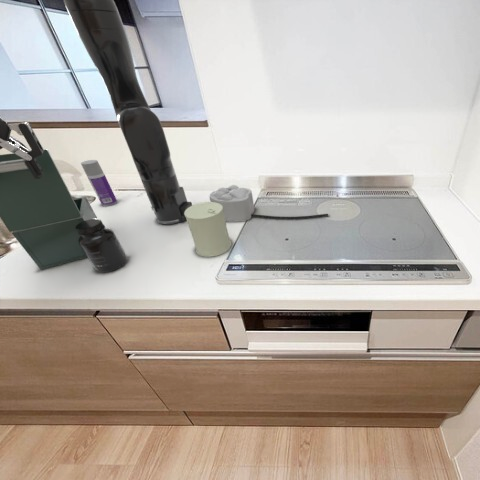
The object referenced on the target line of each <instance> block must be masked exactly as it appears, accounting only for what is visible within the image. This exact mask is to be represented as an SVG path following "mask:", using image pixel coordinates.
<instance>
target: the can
mask: <svg viewBox="0 0 480 480" xmlns="http://www.w3.org/2000/svg"><path fill="white" fill-rule="evenodd" d="M184 215H185V217H186V219H185V221H186V223H187V225H188V228H189V231H190V233H191V238H192V241H193V244H194V246H195V252H196V253H197V254H198V255H199V256H200V257H206V258H209V257H210V258H212V257H217V256H220V255H222V254H225V253H226V252H228V251H229V249H230V248H231V246H232V241H231V239H230V236H229V231H228V227H227V221H225V217H224V213H223V207H222V205H221V204H219V203H216V202H210V201H203V202H199V203H195V204H192V206H190V207H189V208H187V209H186V210H185V212H184Z"/></svg>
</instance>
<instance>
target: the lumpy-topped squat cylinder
mask: <svg viewBox="0 0 480 480" xmlns="http://www.w3.org/2000/svg"><path fill="white" fill-rule="evenodd" d="M252 191H253V190H252V189H250V188H246V187H239V186H238V185H236V184H231V185H229V186H228V187H219V188H218V189H216V190H215V191H212V192H210V193H209V195H208V197H209V202H216V203H219V204H221V205H222V207H223V213H224V217H225V222H233V223H235V222H237V223H238V222H246V221H249V220H251V218H252V217H253V216H251V214H254V212H255V211H256V210H255V204H254V198H253V192H252Z"/></svg>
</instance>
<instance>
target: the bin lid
mask: <svg viewBox="0 0 480 480" xmlns="http://www.w3.org/2000/svg"><path fill="white" fill-rule="evenodd" d="M51 155H52V154H51V153H50V152H49V150H48V149H44V152H43V153H42V155H41V156H38V157H36V160H37V162H38V164H39V165H40V167H41V168H42V170H43V174H42V175H41V176H42V177H41V178H40V179H35V178H34V176H33V175H32V173H31V172H30V170H29V168H28V167H27V165H26V164H25V162H24V161H25V159H23V158H22V157H20V156H18V155H17V154H15V153H12V152H11V153H5V154H0V219H1V221H2V222H3V224H4V226H5V227H6V229H7V231H8V232H9V233H12V232H13V231H17V230H21V229H26V228H30V227H35V226H40V225H44V224H49V223H53V222H58V221H63V220H67V219H72V218H76V217H81V216H82V215H81V213H80V211H79V209H78V207H77V205H76V204H75V202H74V200H73V199H74V197H73V196H72V194H71V191H70V190H69V187H68V186H67V184H66V183H65V180H64V178H63V176H62V175H61V173H60V171H59V169H58V167H57V165H56V162H55V161H54V159H53V157H52V156H51Z"/></svg>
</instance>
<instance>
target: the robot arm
mask: <svg viewBox="0 0 480 480" xmlns="http://www.w3.org/2000/svg"><path fill="white" fill-rule="evenodd" d="M63 3H64V5H65V8H66V11H67V12H68V14H69V17H70V19H71V21H72V24H73V26H74V28H75V30H76V32H77V35H78V37H79V39H80V40H81V43H82V44H83V46H84V49H85V50H86V52H87V54H88V56H89V57H90V59H91V62H92V63H93V65H94V67H95V68H96V70H97V72H98V74H99V76H100V77H101V79H102V81H103V82H104V85H105V88H106V90H107V92H108V95H109V98H110V100H111V101H110V102H111V103H112V107H113V110H114V113H115V117H116V121H117V123H118V126H119V128H120V131H121V132H122V135H123V138H124V140H125V142H126V145H127V147H128V150H129V152H130V156H131V157H132V160H133V163H134V166H135V168H136V170H137V173H138V175H139V178H140V181H141V184H142V186H143V188H144V190H145V193H146V196H147V199H148V201H149V203H150V209H151V211H152V212H153V213H154V216H155V219H156V221H157V223H158V224H161V225H173V224H178V223H184V222H185V221H186V217H185V215H184V212H185V210H186V209H187V208H189V207H190V206H192V205H193V203H192V201H188V199H187V196H186V192H185V189H184V187H183V186H180V183H179V180H178V177H177V174H176V171H175V168H174V164H173V160H172V158H171V151H170V147H169V144H168V141H167V137H166V134H165V131H164V128H163V125H162V122H161V121H160V120H161V119H160V118H159V117H158V116H157V114H156V113H155V112H153V111H152V109H151V108H150V106H149V104H148V101H147V99H146V97H145V94H144V92H143V90H142V87H141V85H140V82H139V80H138V76H137V71H136V67H135V62H134V56H133V53H132V48H131V45H130V41H129V37H128V35H127V32H126V28H125V25H124V23H123V21H122V18H121V14H120V12H119V10H118V7H117V5H116V2H115V1H114V0H63ZM12 131H14V132H16V133H17V135H19V136H22V137H24V139H25V141H26V143H27V144H28V146H29V148H30V150H29V149H27V148H26V147H25V146H22V144H21V143H19V142H17V141H16V140H15V139H13V138H12V137H10V136H11V133H12ZM2 149H5V150H6V151H8V152H10V153H11V154H12V153H15V154H17V155H18V156H20V157H22V158H23V159H25V161H24V162H25V164H26V165H27V167H28V168H29V170H30V172H31V173H32V175H33V176H34V178H35V179H40V178H41V177H42V176H41V175H42V174H43V170H42V168H41V167H40V165H39V164H38V162H37V160H36V157H38V156H41V155H42V153H43V152H44V150H45V149H44V148H43V145H42V144H41V142H40V141H39V139H38V137H37V135H36V133H35V131H34V129H33V128H32V126H31V124H30V123H29V122H28V121H21V122H18V123H8V122H7V121H5V120H4V119H3V118H2V117H1V116H0V150H2ZM251 216H252V217H255V218H264V219H275V220H277V219H279V220H298V219H299V220H301V219H313V218H314V219H315V218H321V217H329V213H321V214H313V215H312V214H311V215H300V216H298V215H297V216H280V215H279V216H278V215H277V216H276V215H264V214H255V213H252V214H251Z"/></svg>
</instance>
